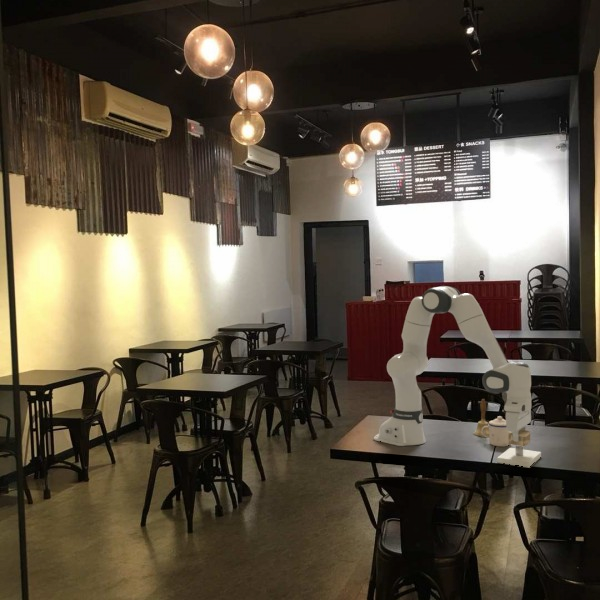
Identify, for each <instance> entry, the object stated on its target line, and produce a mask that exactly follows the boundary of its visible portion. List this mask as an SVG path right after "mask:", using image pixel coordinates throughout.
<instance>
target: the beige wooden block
mask: <svg viewBox="0 0 600 600" xmlns="http://www.w3.org/2000/svg"><path fill="white" fill-rule="evenodd" d="M518 435H519V441H518V442H516V441H514V440H513V434H512V432H509V444H510V445H515V446H522V447H526V446H528V445H529V444H530V443H531V431H530V430H519V433H518Z"/></svg>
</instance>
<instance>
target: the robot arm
mask: <svg viewBox="0 0 600 600" xmlns="http://www.w3.org/2000/svg"><path fill="white" fill-rule="evenodd" d="M446 313H450V314H452V315H453V317H454V319H455V321H456V323H457V326H458V328H459V330H460V332H461V334H462V336H463V337H464V338H465V340H467V341H469V342H471V343H474V344H476V345H477V346H479V347H481V348H482V349H483V351H484V352H485V354H486V356H487V358H488V360H489V363H491V365H492V368H491V369H488V370H487V371H486V372H484V374H483V375H482V379H481V380H482V381H481V382H482V385H483V387H484V389H485V390H486V391H487V392H488V393H492V394H500V393H501V394H502V393H506V396H507V397H506V403H505V404H504V406H503V407H504V408H503V409H504V411H505V420H506V428H507V431H508V432H512V434H513V440H514V441H516V442H518V441H519V435H518V433H519V430H526V429H527V425H528V424H530V423H531V422H532V410H531V409H532V393H531V387H532V375H531V369H530V365H528V364H527V363H525V362H523V361H519V360H510V361H509V360H508V359H507V357H506V355H505V352H504V351H503V349H502V347H501V346H500V344H499V342H498V340H497V338H496V336H495V335H494V333H493V331H492V329H491V327H490V325H489V323H488V321H487V319H486V316H485V314H484V312H483V309H482V308H481V306H480V303H478V301H477V300H476V298H475V296H474V295H473V294H471V293H466V292H465V293H461V292H460V290H458V289H457V288H455V287H453V286H450V285H449V286H448V285H447V286H446V285H441V286H436V287H430V288H428V289H427V290H425V291H424V292H423V293H422V296H415V297H414V298H413V299H412V300H411V302H410V304H409V306H408V309H407V313H406V315H405V318H404V319H405V320H404V323H403V328H402V332H401V339H402V343H403V345H402V347H403V349H402V352H401V353H398V354H394V356H392V357H391V358H390V359H389V360H388V361H387V364H386V371H387V373H388V375H389V376H390V377H391V379H392V383H393V387H394V393H395V408H393V409H392V410H390V414H391V415H392V416H391V417H390V418H388V419H387V420H385V421H383V423H381V424H380V427H379V429H378V430H379V432H378V433H377V434H376V435H375V436H374V437H373V441H376V442H377V441H378V442H380V441H381V443H384V444H389V445H392V446H393V445H394V446H398V447H405V446H417V445H422V444H425V443H426V437H425V434H424V428H423V427H424V426H423V421H424V420H423V419H424V417H423V415H424V414H423V408H422V391H421V389H420V388H419V386H418V381H417V376H418V375H421V374H422V373H423V372H425V371H426V370H427V369H428V366H429V359H428V356H427V349H428V348H427V345H428V339H429V335H430V331H431V325H432V321H433V317H434V315H435V314H446Z"/></svg>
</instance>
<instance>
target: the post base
mask: <svg viewBox="0 0 600 600" xmlns="http://www.w3.org/2000/svg"><path fill="white" fill-rule="evenodd" d="M540 457H541V458H542V451H538V450H537V451H535V450H530V449H524V446H520V445H515V447H509V448H507V449H506V450H505V451H504V452H502V453H501V454H500V455H498V456H497V459H496V461H497V462H496V463H498V464H503V463H505V464H504V465H509V464H510V465H509V466H515V465H519V466H518V467H521V466H523V467H522V468H529V469H530V468H531V467H532V466H533V465H534V464H535V463H537V461H538V460H539V459H541V458H540ZM534 462H535V463H534ZM533 463H534V464H533ZM532 464H533V465H532ZM531 465H532V466H531ZM530 466H531V467H530Z"/></svg>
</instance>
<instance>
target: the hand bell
mask: <svg viewBox="0 0 600 600" xmlns="http://www.w3.org/2000/svg"><path fill="white" fill-rule="evenodd" d="M479 407H480V413H481V414H480V415H481V417H480V418H481V419H480V420H479V421H478V422H477V425H476V426H477V427H476V429H475V431H474V432H473V435H475V436H477V437H485V436H484V435H483V434H482V428H483V427H484V426H489V421H486V410H487V402H486V399H485V398H482V399H481V401H480V406H479ZM483 432H484V434H485V435H487V436H489V428H484V429H483Z"/></svg>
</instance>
